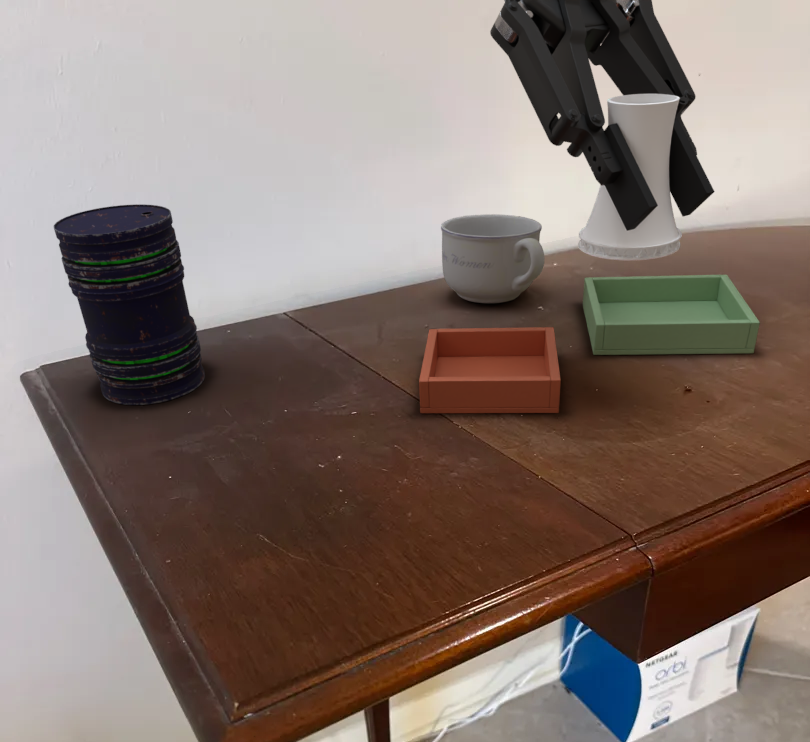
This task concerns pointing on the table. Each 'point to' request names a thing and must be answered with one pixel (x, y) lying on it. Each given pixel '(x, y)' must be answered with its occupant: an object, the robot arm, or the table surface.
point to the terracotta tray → (490, 371)
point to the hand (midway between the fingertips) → (670, 210)
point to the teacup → (491, 256)
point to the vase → (650, 145)
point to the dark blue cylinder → (132, 301)
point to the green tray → (668, 315)
